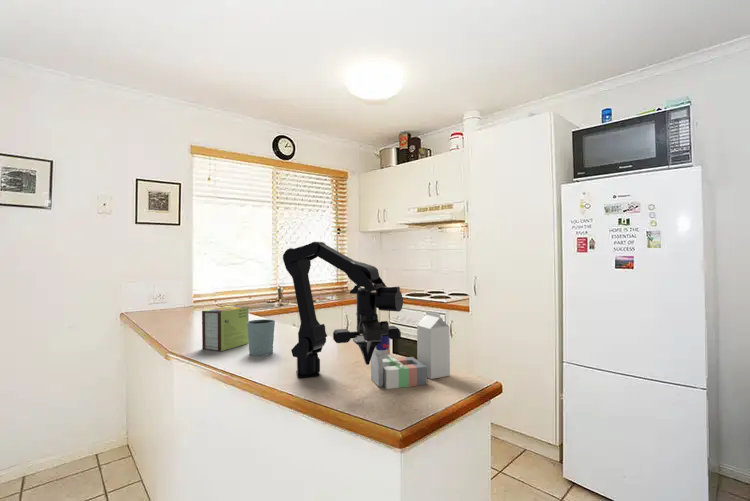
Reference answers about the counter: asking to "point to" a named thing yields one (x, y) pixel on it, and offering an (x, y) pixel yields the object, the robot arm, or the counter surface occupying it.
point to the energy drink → (384, 347)
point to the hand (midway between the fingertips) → (367, 364)
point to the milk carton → (433, 345)
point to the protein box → (224, 327)
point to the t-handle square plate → (380, 367)
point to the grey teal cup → (261, 337)
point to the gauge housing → (403, 373)
